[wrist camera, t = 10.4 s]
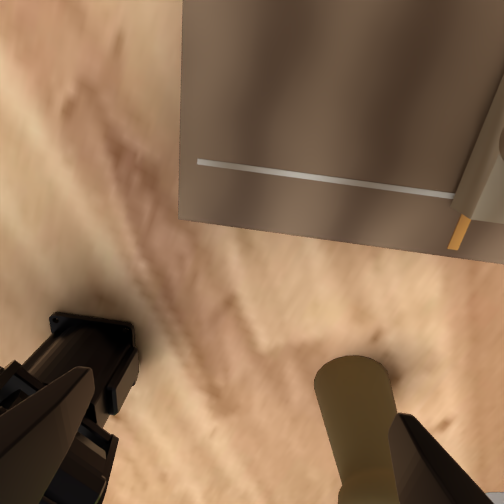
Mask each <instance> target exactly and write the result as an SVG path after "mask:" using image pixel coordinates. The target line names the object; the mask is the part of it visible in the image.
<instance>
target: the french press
mask: <svg viewBox="0 0 504 504" xmlns="http://www.w3.org/2000/svg"><path fill="white" fill-rule="evenodd" d="M485 494H486V495H487V496H488V497H489V498H490V499H491V500H492V502H493V503H494V504H504V492H489V493H485Z"/></svg>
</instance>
